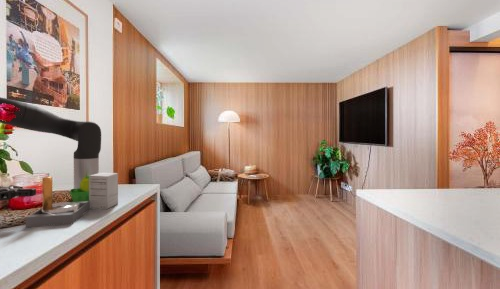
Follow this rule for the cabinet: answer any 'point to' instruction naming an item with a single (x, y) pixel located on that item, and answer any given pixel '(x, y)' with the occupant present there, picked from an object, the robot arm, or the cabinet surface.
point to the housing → (57, 216)
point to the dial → (47, 200)
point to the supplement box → (103, 190)
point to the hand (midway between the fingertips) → (34, 192)
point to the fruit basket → (81, 191)
